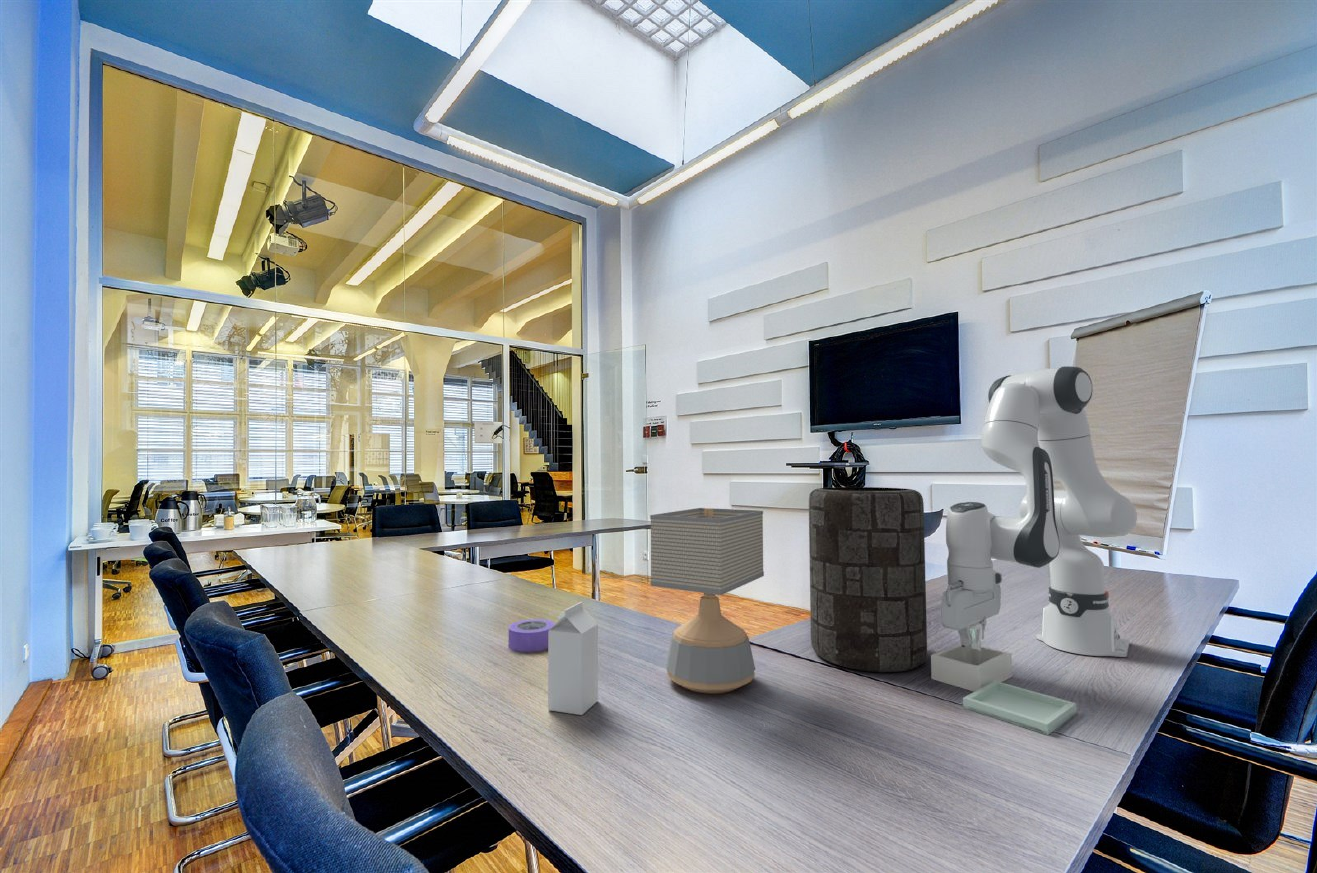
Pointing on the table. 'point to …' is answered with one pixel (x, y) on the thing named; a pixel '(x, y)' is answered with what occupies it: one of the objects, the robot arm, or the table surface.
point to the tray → (1021, 707)
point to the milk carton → (573, 662)
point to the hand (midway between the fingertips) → (972, 642)
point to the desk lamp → (708, 591)
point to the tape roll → (529, 635)
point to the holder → (971, 668)
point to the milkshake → (973, 645)
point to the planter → (868, 577)
